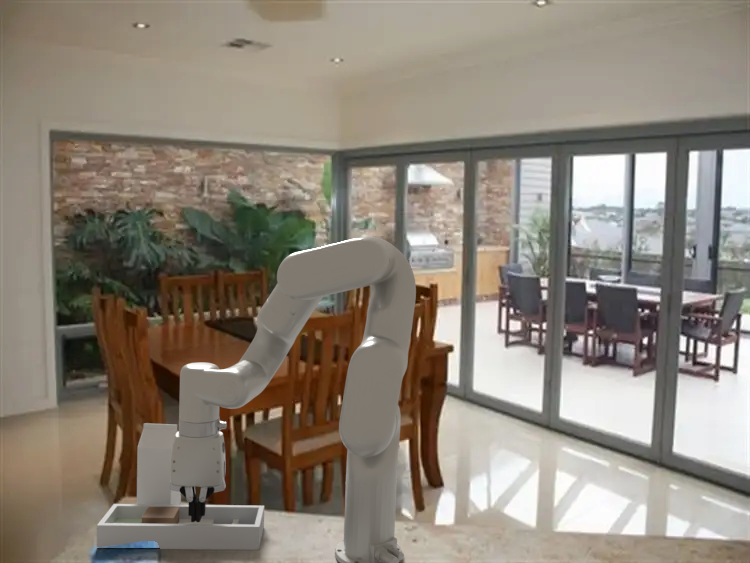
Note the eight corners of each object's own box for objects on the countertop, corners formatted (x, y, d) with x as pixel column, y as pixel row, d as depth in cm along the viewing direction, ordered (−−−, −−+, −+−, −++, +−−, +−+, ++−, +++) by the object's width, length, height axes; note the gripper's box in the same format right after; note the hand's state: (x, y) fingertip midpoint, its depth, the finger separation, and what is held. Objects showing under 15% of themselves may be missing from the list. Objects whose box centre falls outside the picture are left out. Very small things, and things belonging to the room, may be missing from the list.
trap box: (263, 526, 140) (264, 505, 140) (258, 549, 130) (259, 526, 130) (113, 525, 138) (113, 503, 138) (96, 548, 128) (96, 525, 128)
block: (179, 521, 136) (179, 507, 136) (173, 532, 131) (173, 517, 131) (148, 521, 136) (148, 506, 136) (141, 532, 131) (141, 517, 131)
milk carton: (170, 519, 142) (171, 429, 140) (136, 518, 142) (137, 428, 141) (180, 506, 149) (182, 420, 148) (148, 504, 149) (149, 418, 148)
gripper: (240, 422, 137) (238, 512, 138) (164, 420, 136) (162, 510, 137) (235, 434, 129) (232, 528, 131) (154, 432, 128) (152, 527, 130)
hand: (196, 519), depth 134 cm, fingers closed
